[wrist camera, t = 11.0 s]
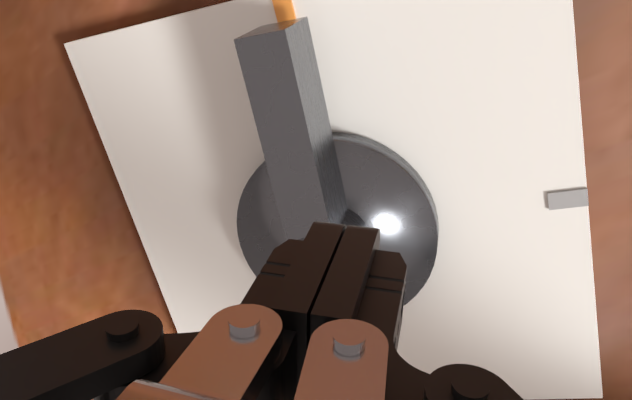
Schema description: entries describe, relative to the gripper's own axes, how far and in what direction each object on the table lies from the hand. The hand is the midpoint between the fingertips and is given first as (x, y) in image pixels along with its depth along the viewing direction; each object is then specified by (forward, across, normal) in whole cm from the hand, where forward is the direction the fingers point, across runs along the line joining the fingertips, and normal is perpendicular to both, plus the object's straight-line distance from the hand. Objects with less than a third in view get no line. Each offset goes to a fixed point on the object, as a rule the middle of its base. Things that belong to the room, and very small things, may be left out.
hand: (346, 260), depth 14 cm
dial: (+20, +5, +6) cm, 21 cm away
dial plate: (+21, +4, +10) cm, 24 cm away
